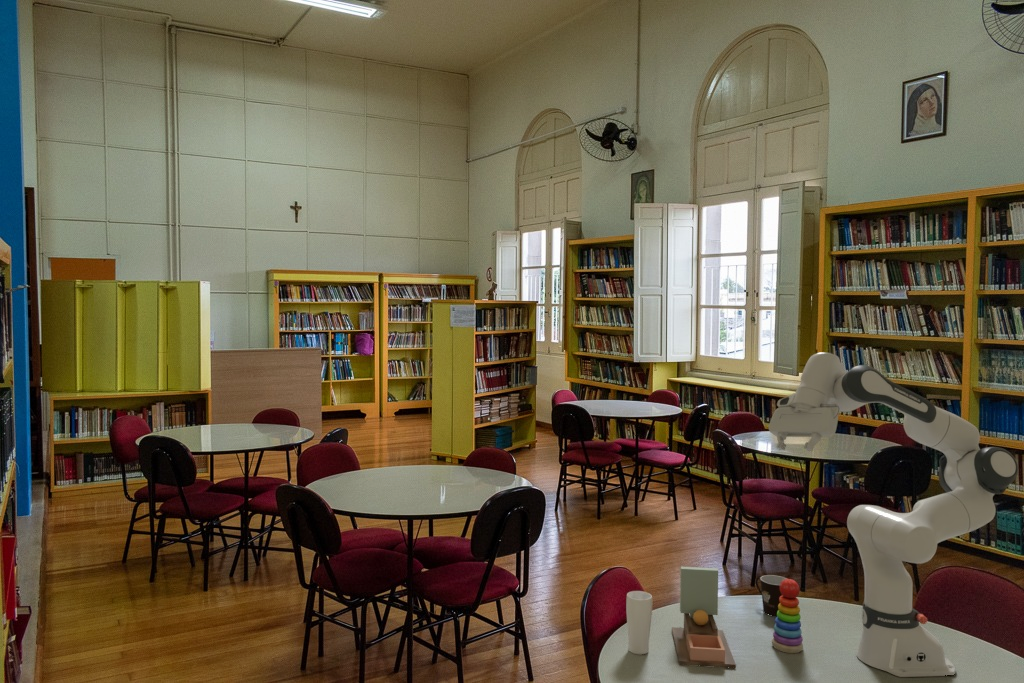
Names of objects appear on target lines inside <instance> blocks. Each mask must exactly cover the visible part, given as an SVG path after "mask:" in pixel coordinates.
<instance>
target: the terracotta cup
mask: <svg viewBox="0 0 1024 683" xmlns="http://www.w3.org/2000/svg"><path fill="white" fill-rule="evenodd" d="M686 647H687V651H688V655H689V659H690V662H705V663H720V664H725V649H724V646H723V643H722V640H721V638H720V636H714V635H698V634H687V644H686Z"/></svg>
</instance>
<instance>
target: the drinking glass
mask: <svg viewBox="0 0 1024 683" xmlns="http://www.w3.org/2000/svg"><path fill="white" fill-rule="evenodd" d="M625 605H626V607H625V608H626V609H625V610H626V611H625V612H626V623H627V624H626V626H627V638H628V640H627V641H628V642H627V643H628V647H627V648H628V652H630V653H631V654H633V655H638V656H639V655H642V654H643V655H646V654H647V653H648V652H649V650H650V649H649V648H650V636H651V626H652V616H653V596H652V594H651V593H649V592H647V591H644V590H643V591H642V590H632V591H629V592H627V593H626V604H625Z"/></svg>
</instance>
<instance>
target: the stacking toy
mask: <svg viewBox="0 0 1024 683" xmlns="http://www.w3.org/2000/svg"><path fill="white" fill-rule="evenodd" d="M800 590H801V589H800V586H799V584H798V582H796V580H794V579H791V578H787V579H785V580H783V581H782V582H781V584H780V592H781V594H782V596H780V598H779V601H780V604H779V605H778V609H779V610H778V611H777V617H775V619H774V623H775V624H774V626H773V629H774V631H773V633H772V640H771V645H772V646H773V647H774V648H775V649H776V650H778V651H779V652H783V653H786V654H797V653H800V652H802V650H803V649H804V644H803V640H804V638H803V635H802V632H803V631H802V628H801V626H802V623H801V621H800V620H801V613H800V611H801V608H800V606H799V604H800V601H799V598H797V597H798V596H799V593H800Z"/></svg>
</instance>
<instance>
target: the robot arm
mask: <svg viewBox="0 0 1024 683" xmlns="http://www.w3.org/2000/svg"><path fill="white" fill-rule="evenodd" d="M800 376H801V377H800V383H799V386H797V388H796V390H795V392H794V393H792V394H790V395H788V396H785V397H783V398H780V399H779V400H778V401H777V403H776V406H777V407H778V408H776V409H775V410H774V412H773V414H772V417H771V418H770V420H769V424H768V431H769V432H770V433H771V434H772V435H773V436H775V437H776V439H777V444H776V448H777V449H778V450H779V451H785V450H786V448H787V444H786V443H785V440H786V439H787V438H789V437H790V438H791V437H792V438H794V437H795V438H804V437H805V438H810V439H809V440H808V442H807V441H806V442H805V443H804V447H803V449H804V450H806V451H807V452H813V451H814V448H815V446H816V445H818V443H820V441H821V439H822V438H832V437H833V436H834V435H835V433H836V431H837V427H838V422H839V421H838V420H839V413H841V412H842V413H850V412H852V411H855V410H856V409H859V408H861V407H863V406H865V405H867V404H872V403H873V404H874V403H875V404H876V403H878V404H882V405H885V406H886V407H889V408H891V409H893V410H894V411H897V412H899V413H902V415H904V418H903V425H902V426H903V429H904V431H905V434H906V435H907V437H909V438H910V439H912V440H913V441H915V442H916V443H918V444H920V445H921V444H922V445H924V446H926V447H929V448H930V449H934V450H937V451H939V452H940V453H943V455H942V456H941V457H940V459H939V463H938V464H939V468H938V475H937V476H938V481H939V482H938V483H939V484H940V486H941V488H942V489H943V491H945V492H943V493H940V494H937V495H934V496H931V497H927V498H923V499H921V500H918V501H917V502H915V504H914V505H913V507H912V511H910V512H896V511H892V510H890V509H887V508H885V507H882V506H880V505H874V504H873V505H872V504H859V505H857V506H855V507H853V508H852V509H851V510H850V512H849V513H848V516H847V520H846V526H847V530H848V532H849V534H850V535H851V537H853V539H854V542H855V543H856V547H857V549H858V552H859V556H860V559H861V563H862V568H863V573H864V574H863V575H864V601H862V609H861V622H862V630H861V638H860V640H859V644H858V648H857V651H856V657H857V658H858V659H859V660H860V661H861V662H862V663H864V664H866V665H868V666H870V667H872V668H875V669H878V670H882V671H884V672H888V673H889V674H892V675H893V676H896V677H900V678H911V677H914V678H916V677H948V676H947V675H953V674H955V675H956V668H955V665H954V664H953V663H952V661H951V660H950V659H949V658H948V657H946V656H945V654H946V653H945V651H944V647H943V645H942V644H941V641H939V639H938V638H937V637H936V636H935V635H934V634H932V633H931V632H930V631H929V630H927V629H926V628H925V627H924V626H922V625H926V624H927V623H928V621H929V620H928V618H927V617H926V616H925V615H924V614H923V613H920V612H919V611H918V610H916V609H915V608H913V586H914V584H913V579H912V577H911V575H910V573H909V572H908V571H907V569H906V567H905V566H904V563H906V562H907V563H911V564H918V565H920V564H921V565H922V564H925V563H927V562H929V561H931V560H932V558H933V557H934V555H935V554H936V552H937V548H938V544H939V543H941V542H944V541H946V540H949V539H953V538H955V537H958V536H962V535H964V534H968V533H970V532H971V533H972V532H974V531H976V530H977V529H980V528H982V527H984V526H986V525H987V524H988V523H990V522H992V521H993V520H994V518H995V516H996V510H997V509H996V505H995V501H994V500H993V497H994V496H995V495H1002V494H1003V493H1004V492H1006V490H1007V488H1008V487H1009V486H1010V485H1011V484H1012V483H1013V482H1014V481H1015V480H1016V478H1017V476H1018V474H1019V465H1018V464H1019V463H1018V462H1017V460H1016V458H1015V456H1014V455H1013V454H1012V452H1009V451H1008V450H1007V449H1005V448H1002V447H999V446H989V447H987V446H986V447H982V448H980V446H979V444H980V441H981V434H980V432H979V429H978V428H977V426H975V425H974V424H973V423H971V422H970V421H968V420H966V419H964V418H963V417H960V416H959V415H957V414H955V413H952V412H950V411H947V410H945V409H943V408H941V407H938V406H936V405H934V404H933V402H931V401H930V400H928V399H926V398H925V397H923V396H921V395H920V394H918V393H916V392H914V391H912V390H909V389H907V388H905V387H903V386H901V385H900V384H898V383H895V382H893V381H892V380H890V379H888V378H887V377H886V376H885V375H884V374H883V373H882V372H880V371H879V370H878V369H877V368H875V367H873V366H870V365H867V364H865V365H864V364H859V365H856V366H853V367H852V368H851V369H850V370H848V371H847V369H845V367H844V365H843V364H842V363H841V360H840V357H839V356H838V355H836V354H834V353H832V352H827V351H826V352H825V351H823V352H817V353H814V354H812V355H811V356H810V357H809V358H808V360H807V362H806V363H805V366H804V368H803V370H802V374H801V375H800ZM903 562H904V563H903ZM945 675H946V676H945Z"/></svg>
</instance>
